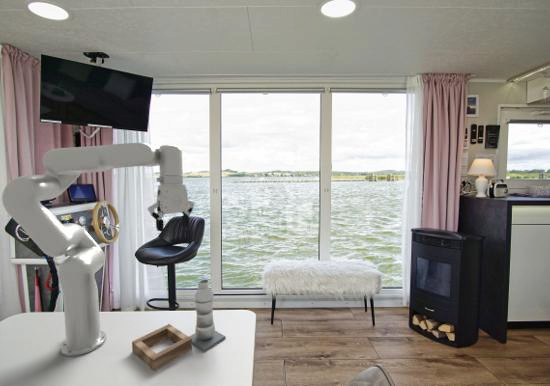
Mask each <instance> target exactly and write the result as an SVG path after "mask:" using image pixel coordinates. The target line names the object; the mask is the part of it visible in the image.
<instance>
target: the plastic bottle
mask: <svg viewBox="0 0 550 386" xmlns="http://www.w3.org/2000/svg"><path fill="white" fill-rule="evenodd" d="M197 282H198V283H197V284H198V285H197V290H196V292H195V294H194V297H193V298H194V304H195V311H196V322H195V323H196V325H195V333H196V336H197V338H198V339H200V340H208V339H210V338H212V337H213V335H214V333H215V331H216V327H215V323H214V315H213V309H214V308H213V307H214V306H213V305H214V297H215V295H214V292H213V291H212V289H211V288H210V287H211V285H210V280H209V279H200V280H198V281H197ZM195 333H194V334H195Z"/></svg>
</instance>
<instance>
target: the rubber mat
mask: <svg viewBox="0 0 550 386" xmlns="http://www.w3.org/2000/svg"><path fill="white" fill-rule="evenodd" d="M189 337H190V338H192V346H195V347H196V348H197V349H200V350H201V351H202V352H204V353H205V352H206V351H208V350H210V349H211V348H213V347H215V346H217V344H219V343H221V342H223V341H224V340H225V339H226V335H224V334H222V333H221V332H219V331H216V330H215V333H214V335H213V337H212V338H210V339H208V340H200V339H198V338H197V336H196V333H193V334H191V335H189Z"/></svg>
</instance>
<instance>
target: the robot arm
mask: <svg viewBox="0 0 550 386" xmlns="http://www.w3.org/2000/svg"><path fill="white" fill-rule="evenodd" d="M42 164H43V166H44V168H45V169H46V171H45V172H44V173H42V174H27V175H26V174H25V175H21V176H18V177H15V178H13V179H11V180H10V181H9V182H8V183H7V184H6V185H5V187H4V189H3V192H2V196H1V201H2V206H3V208H4V210H5V211H6V212H7V213H8V215H9V216H10V218H12V220H14V221H15V222H16V223H17V224H18V225H19V226H20V227H21V229H22V230H23V231H24V232H25V234H27V236H28V237H29V238H30V239H31V240H32V241H33V242H34V243H35V245H37V247H38V248H39V249H40V250H41V251H42V252H43V253H44V254H45V255H47V256H48V257H50V258H51V257H52V258H58V257H60V256H64V255H66V254H67V255H68V257H67V258H65V259H64V260H63V261H62V263H61V264H60V266H59V268H58V272H57V275H58V280H59V284H60V286H61V293H62V301H63V313H64V327H65V328H64V329H65V340H66V341H65V342H64V343H62V344H61V347H60V352H61V353H60V354H62V355H63V356H67V357H75V356H81V355H84V354H88V353H90V352H93V351H94V350H96V349H98V348H99V347H100V346H102V345H103V344H104V343H105V342H106V339H107V334H106V332H104V331H102V330H101V319H100V315H101V314H100V300H99V290H98V289H99V288H98V284H97V280H96V278H95V274H96V273H97V272H98V271H99V270H100V269H101V268H102V267H103V266H104V264H105V263H106V255H105V252H104V251H103V249H102V247H100V245H99V244H98V243H97V242H96V241H95V240H94V238H93V237H92V236H91V234H90V233H88V231H87V230H86V229H85V228H84V227H82V226H81V225H79V224H77V223H74V222H72V223H71V222H67V223H62V222H61V221H60V220H59V219H58V218H57V216H56V215H55V214H54V213H53V212H52V211H51V210H50V209H49V208H47V207H46V206H44V205H43V204H42V201H49V200H53V199H55V198H58V197H59V196H60V195H62V194H63V193H64V192H65V191H66V190H67V189H68V188H69V187H70V186H71V185H72V184H73V183H74V182H75V181H76V180H77V179H78V178H79V177H80V176H81V175H82V174H90V173H101V172H108V171H110V170H113V169H119V168H121V169H122V168H130V167H131V168H132V167H157V166H159V177H156V183H157V182H158V183H159V184H158V186H157V193H156V202H155V203H153V204H152V205H149V207H147V210H148V212H149V213H150V216H151V217H152V218H153V219H154V220H155V226H156V231H158V232H160V233H161V232H164V231H165V229H164V226H165V225H164V219H163V218H164V216H165V215H170V214H171V215H172V214H178V213H181V214H182V215H181V226H183V227H186V228H188V227H189V225H190V219H189V218H190V217H189V216H190V215H191V213H192V212H193V210H194V209H193V208H194V207H195V203H194V202H192V201H190V200H189V196H188V191H187V186H186V184H184V182H183V181H184V180H183V179H184V178H183V177H184V176H183V150H182V147H181V146H179V145H174V144H173V145H172V144H163V145H161V146H155V145H151V144H149V143H146V142H127V143H126V142H125V143H115V144H106V145H105V144H104V145H102V144H101V145H92V146H91V145H90V146H88V145H87V146H78V147H77V146H75V147H61V148H60V147H59V148H54V149H49V150H48V151H46V152H45V153H44V155H43V156H42ZM155 211H156V212H157V213H156V212H155Z"/></svg>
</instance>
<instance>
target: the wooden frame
mask: <svg viewBox="0 0 550 386" xmlns="http://www.w3.org/2000/svg"><path fill="white" fill-rule="evenodd" d="M189 336H190V335H189ZM189 336H188V335H187V334H185V332H182V331H181V330H179V329H177V328H176V327H175V326H173V325H171V324H170V323H168V324H166V325H164V326H162V327H160V328H158V329H155V330H154V331H152V332H149V333H147V334H145V335H142V336H140V337H139V338H137V339H135V340H132V341H131V347H132V348H131V349H132V353H133V354H134V355H135V356H136V357H137V358H138V359H140V360H141V361H142V362H143V363H144V364H145V365H146V366H147V367H148V368H149V369H151V371H153V372H155V371H156V370H159V369H160V368H162V367H164V366H165V365H168V364H169V363H171V362H172V361H174V360H175V359H177V358H179V357H181V356H182V355H185V353H187V352H189V351H190V350H193V344H192V338H190V337H189ZM166 339H168V340H170V341H171V342H172V343H173V344H172V345H169V346H168V347H166V348H164V349H162V350H160V351H159V352H155V351H154V350H153V349H152V348H150V347H152V346H154V345H157V344H158V343H161V342H162V341H165V340H166Z"/></svg>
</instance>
